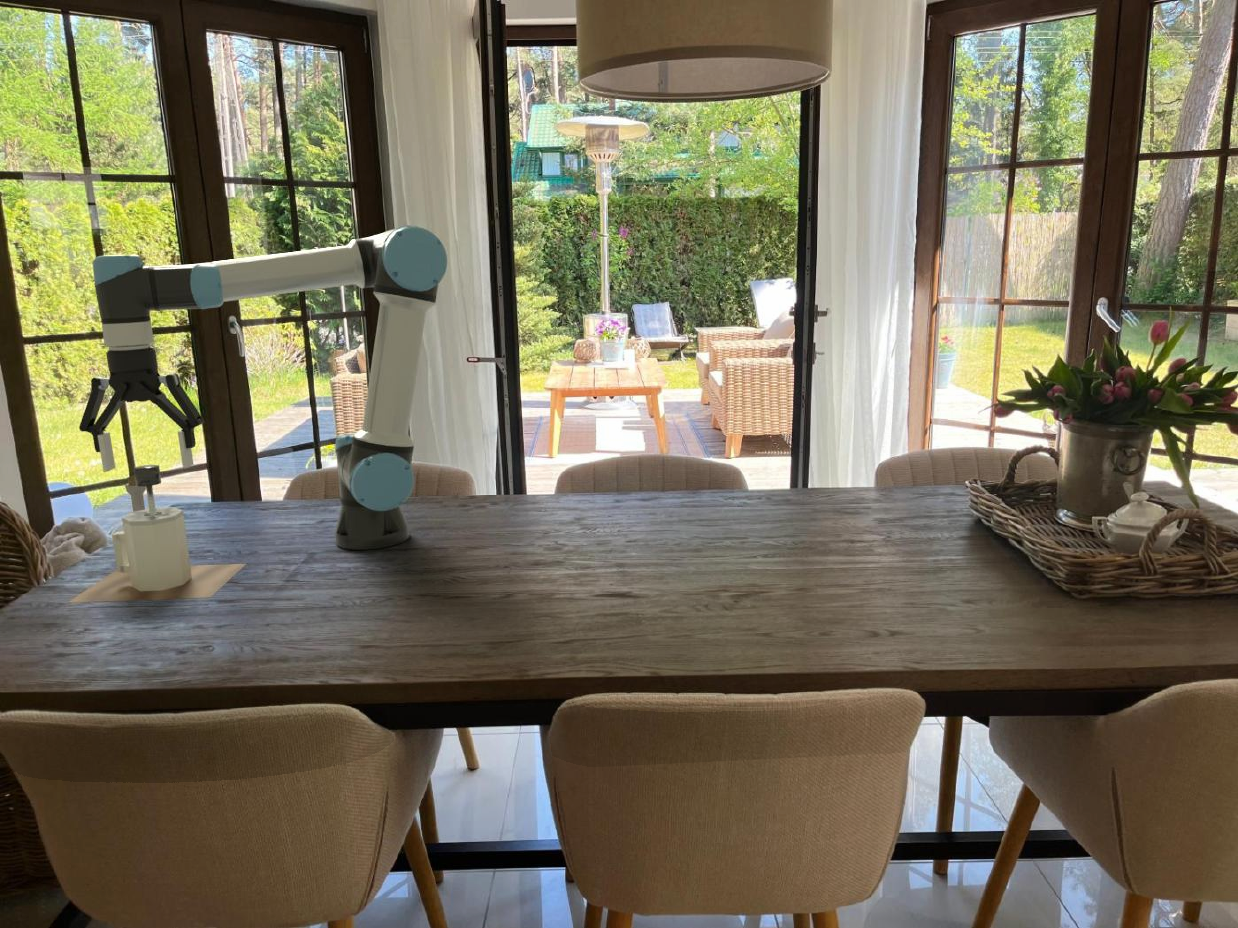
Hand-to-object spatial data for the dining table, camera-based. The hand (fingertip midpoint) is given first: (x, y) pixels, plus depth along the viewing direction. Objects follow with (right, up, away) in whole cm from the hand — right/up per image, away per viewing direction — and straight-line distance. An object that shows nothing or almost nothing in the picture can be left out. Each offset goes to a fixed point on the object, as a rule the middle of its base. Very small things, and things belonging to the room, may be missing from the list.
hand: (149, 468), depth 160 cm
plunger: (0, -19, +4) cm, 20 cm away
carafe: (-1, -21, +4) cm, 21 cm away
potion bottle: (-12, -19, +22) cm, 31 cm away
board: (0, -22, +5) cm, 23 cm away
